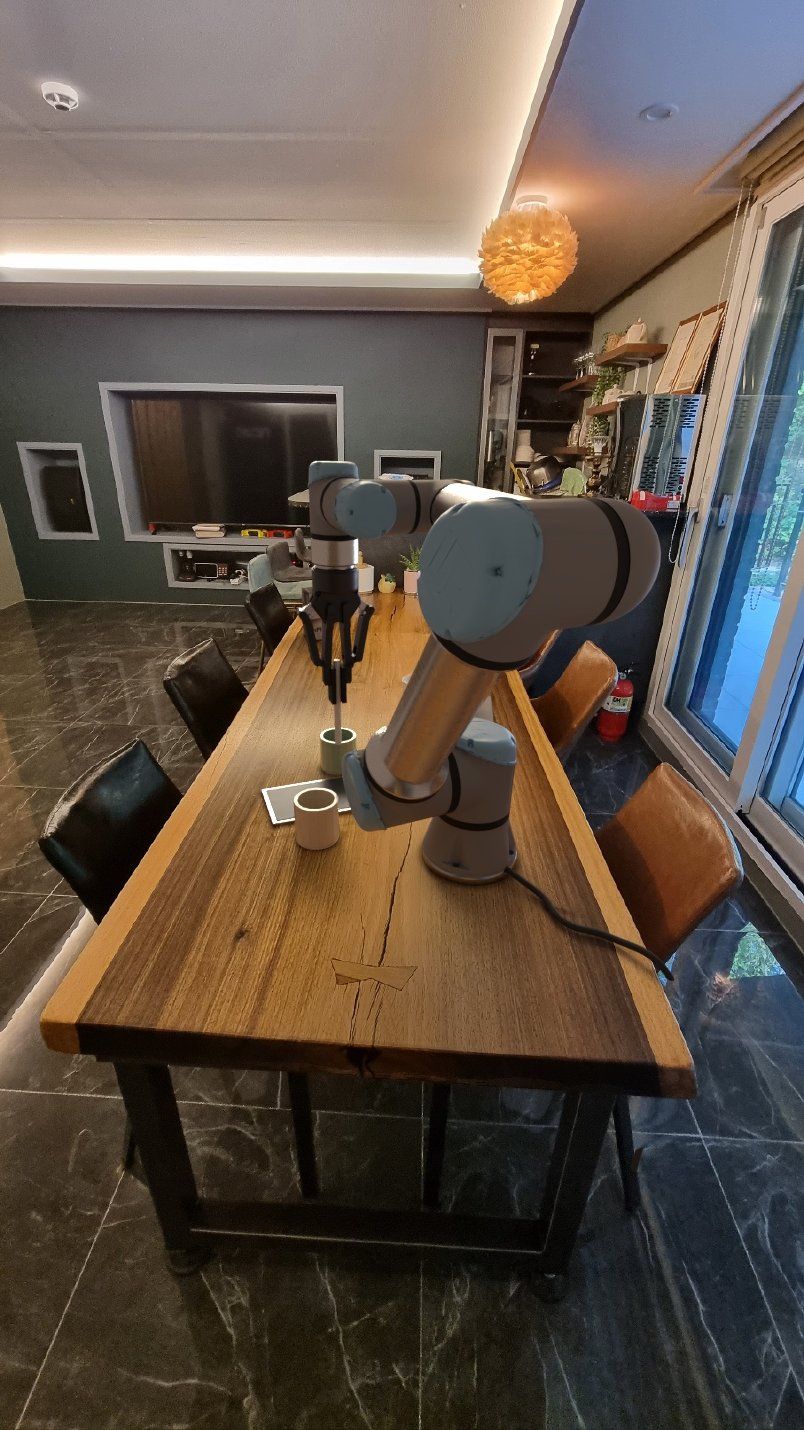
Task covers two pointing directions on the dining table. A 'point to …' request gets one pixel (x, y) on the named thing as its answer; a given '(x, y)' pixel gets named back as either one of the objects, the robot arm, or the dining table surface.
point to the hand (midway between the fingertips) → (337, 700)
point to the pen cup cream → (316, 818)
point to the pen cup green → (335, 749)
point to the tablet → (283, 797)
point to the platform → (485, 710)
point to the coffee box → (315, 619)
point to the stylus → (337, 706)
